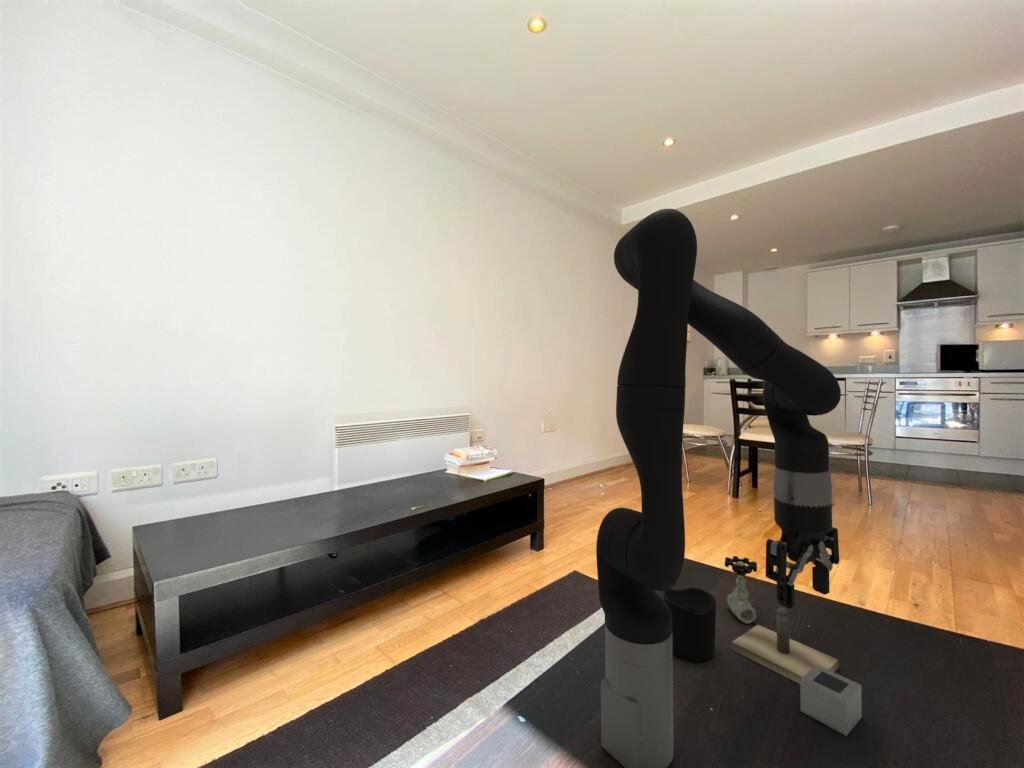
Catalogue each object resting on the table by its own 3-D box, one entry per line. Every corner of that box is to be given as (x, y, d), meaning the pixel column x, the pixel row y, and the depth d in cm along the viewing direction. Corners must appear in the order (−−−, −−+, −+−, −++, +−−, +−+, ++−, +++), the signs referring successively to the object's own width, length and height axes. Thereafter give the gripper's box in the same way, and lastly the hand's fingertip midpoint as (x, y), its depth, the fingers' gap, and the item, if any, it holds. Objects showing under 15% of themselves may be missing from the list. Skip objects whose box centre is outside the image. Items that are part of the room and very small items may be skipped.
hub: (846, 736, 64) (846, 702, 64) (800, 711, 69) (800, 679, 69) (861, 717, 67) (861, 685, 67) (816, 694, 72) (816, 664, 72)
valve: (750, 609, 99) (749, 556, 99) (764, 625, 92) (763, 568, 92) (719, 608, 100) (719, 555, 100) (731, 624, 93) (730, 568, 93)
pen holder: (709, 671, 79) (709, 615, 78) (657, 652, 84) (656, 600, 84) (721, 645, 86) (721, 594, 86) (672, 629, 92) (672, 581, 92)
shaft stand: (814, 691, 73) (814, 634, 73) (731, 649, 85) (731, 600, 84) (838, 668, 79) (838, 615, 79) (757, 631, 90) (757, 585, 90)
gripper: (796, 511, 62) (798, 624, 63) (856, 495, 68) (857, 598, 69) (748, 498, 69) (751, 599, 70) (806, 484, 75) (808, 577, 75)
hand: (804, 598), depth 69 cm, fingers open, 8 cm apart
